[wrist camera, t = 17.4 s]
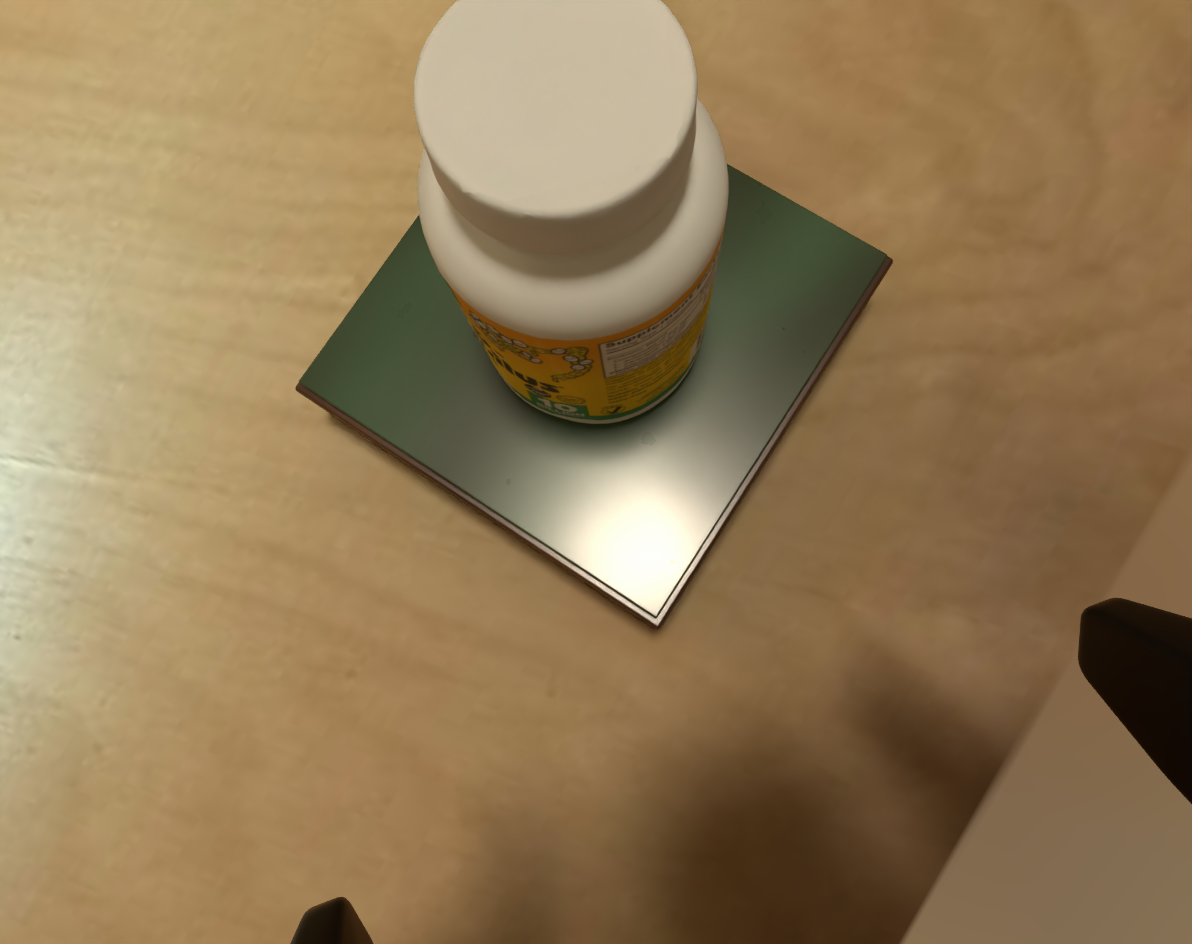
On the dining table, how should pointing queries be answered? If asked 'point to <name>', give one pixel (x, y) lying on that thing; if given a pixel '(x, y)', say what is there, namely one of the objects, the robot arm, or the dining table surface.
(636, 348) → the supplement bottle
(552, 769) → the dining table surface
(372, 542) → the dining table surface
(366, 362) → the stand
